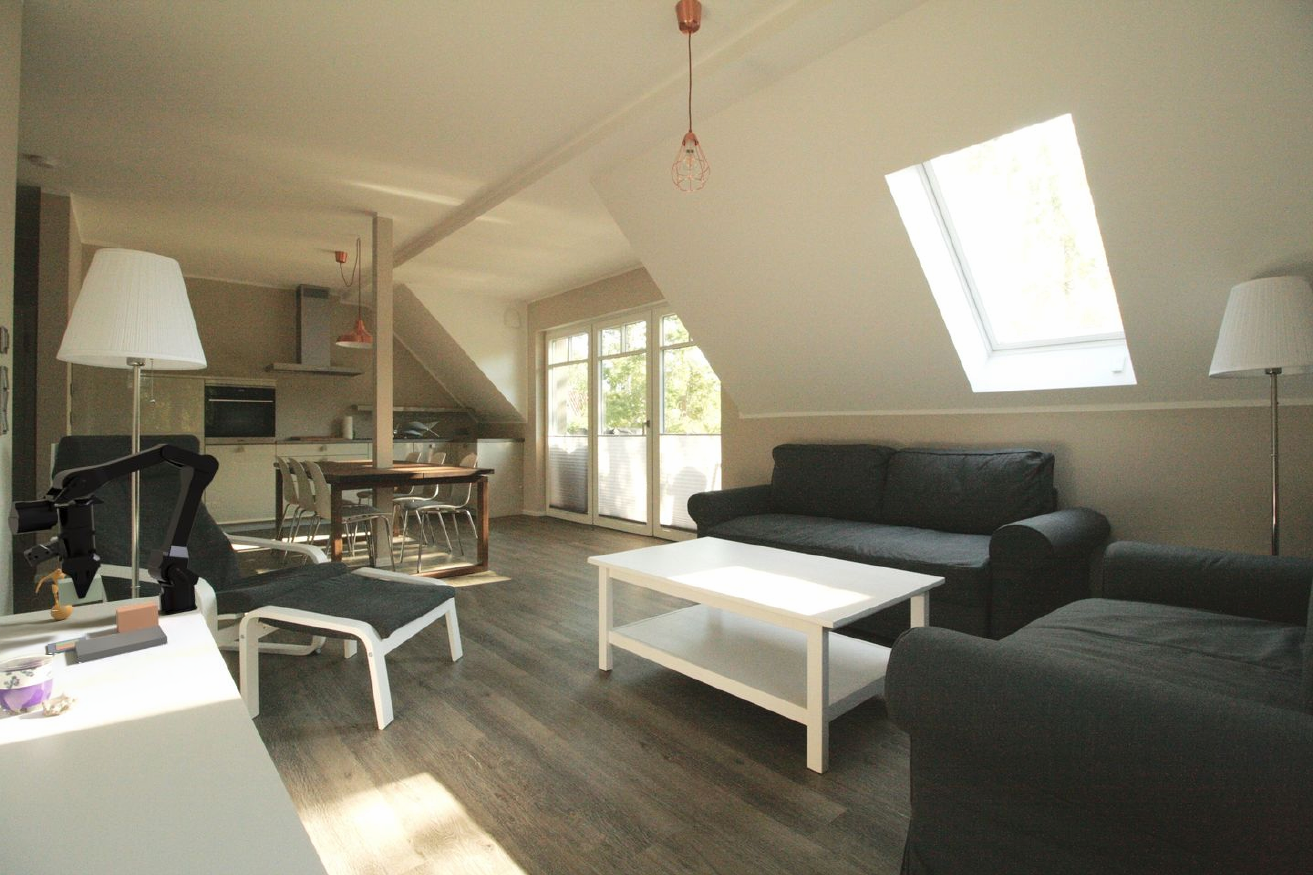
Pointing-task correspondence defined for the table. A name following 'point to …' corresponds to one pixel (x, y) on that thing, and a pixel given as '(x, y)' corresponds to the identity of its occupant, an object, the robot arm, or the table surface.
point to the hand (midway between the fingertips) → (80, 595)
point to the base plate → (119, 643)
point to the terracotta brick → (137, 616)
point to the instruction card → (63, 645)
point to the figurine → (62, 611)
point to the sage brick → (70, 596)
